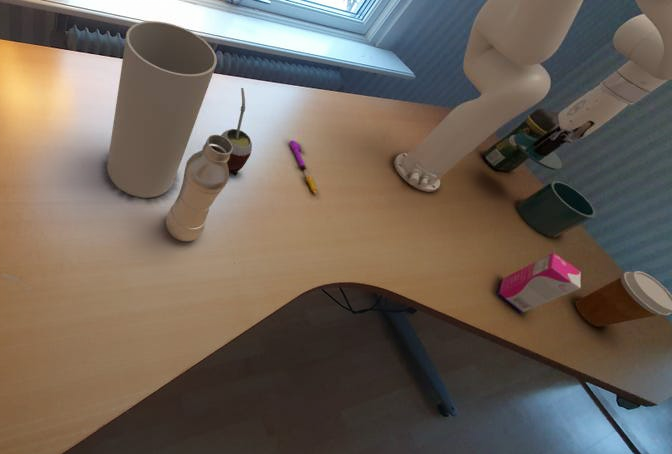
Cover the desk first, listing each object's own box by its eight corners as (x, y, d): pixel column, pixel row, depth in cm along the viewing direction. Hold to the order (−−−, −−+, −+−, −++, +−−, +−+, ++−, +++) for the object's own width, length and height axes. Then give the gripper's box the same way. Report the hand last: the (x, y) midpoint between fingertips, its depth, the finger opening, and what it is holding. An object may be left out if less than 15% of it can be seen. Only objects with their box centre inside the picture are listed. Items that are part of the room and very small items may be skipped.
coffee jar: (499, 155, 116) (561, 107, 102) (514, 174, 112) (581, 126, 98) (477, 151, 114) (537, 101, 99) (491, 170, 109) (557, 121, 95)
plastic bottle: (173, 250, 61) (212, 166, 46) (156, 218, 64) (187, 129, 49) (206, 240, 64) (252, 159, 49) (188, 210, 67) (227, 124, 52)
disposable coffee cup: (560, 292, 84) (622, 267, 75) (587, 294, 87) (651, 270, 78) (589, 333, 79) (659, 312, 70) (617, 334, 82) (689, 313, 72)
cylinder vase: (93, 161, 68) (107, 25, 48) (148, 142, 74) (179, 17, 55) (132, 209, 64) (164, 83, 44) (186, 185, 71) (234, 67, 51)
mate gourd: (230, 185, 74) (262, 127, 63) (198, 163, 75) (224, 102, 63) (246, 166, 79) (278, 109, 67) (215, 146, 80) (242, 86, 68)
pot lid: (559, 179, 90) (589, 160, 85) (511, 151, 92) (538, 130, 87) (555, 155, 98) (583, 136, 93) (511, 129, 100) (536, 109, 95)
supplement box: (524, 297, 80) (582, 272, 71) (521, 314, 76) (581, 289, 68) (500, 278, 81) (554, 251, 72) (495, 294, 78) (552, 267, 69)
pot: (559, 245, 96) (598, 225, 89) (517, 218, 98) (553, 197, 91) (556, 219, 103) (592, 199, 96) (517, 195, 105) (550, 173, 98)
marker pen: (288, 142, 88) (311, 194, 79) (291, 138, 87) (315, 191, 78) (296, 145, 89) (320, 197, 81) (299, 141, 88) (324, 193, 80)
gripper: (601, 67, 85) (524, 129, 100) (613, 92, 75) (525, 156, 90) (633, 84, 84) (550, 144, 99) (649, 112, 74) (554, 174, 89)
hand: (539, 149), depth 94 cm, fingers closed on pot lid, 2 cm apart
